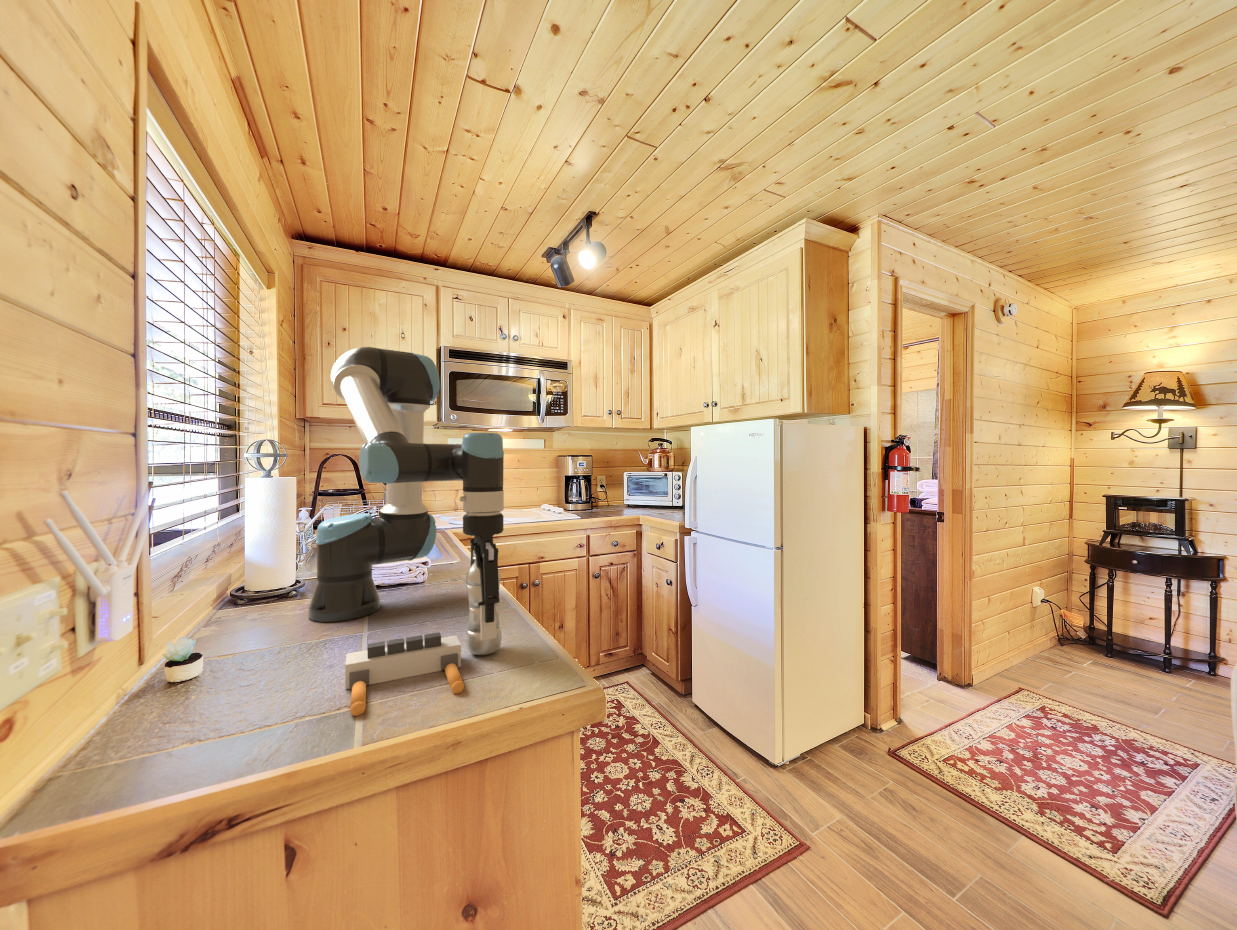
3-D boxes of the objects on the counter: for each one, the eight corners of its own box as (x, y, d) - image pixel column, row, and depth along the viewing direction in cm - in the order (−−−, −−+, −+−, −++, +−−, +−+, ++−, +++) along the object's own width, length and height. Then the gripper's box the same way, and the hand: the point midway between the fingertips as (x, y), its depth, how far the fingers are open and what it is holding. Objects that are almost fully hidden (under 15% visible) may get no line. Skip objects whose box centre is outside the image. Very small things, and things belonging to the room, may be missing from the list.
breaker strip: (347, 676, 81) (346, 643, 81) (456, 656, 89) (456, 625, 89) (345, 691, 76) (344, 655, 76) (461, 668, 84) (461, 636, 84)
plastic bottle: (492, 661, 87) (492, 553, 87) (459, 657, 89) (458, 551, 88) (507, 647, 94) (507, 546, 93) (476, 644, 95) (475, 545, 95)
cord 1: (352, 692, 76) (352, 680, 76) (366, 689, 77) (366, 677, 77) (349, 720, 68) (349, 706, 68) (365, 716, 69) (365, 703, 69)
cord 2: (444, 674, 82) (444, 662, 82) (456, 671, 83) (456, 660, 83) (451, 697, 74) (451, 684, 74) (464, 694, 75) (464, 682, 75)
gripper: (454, 508, 98) (455, 618, 98) (473, 520, 80) (473, 654, 80) (491, 507, 102) (491, 612, 102) (516, 517, 83) (517, 646, 84)
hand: (483, 630), depth 91 cm, fingers open, 8 cm apart
